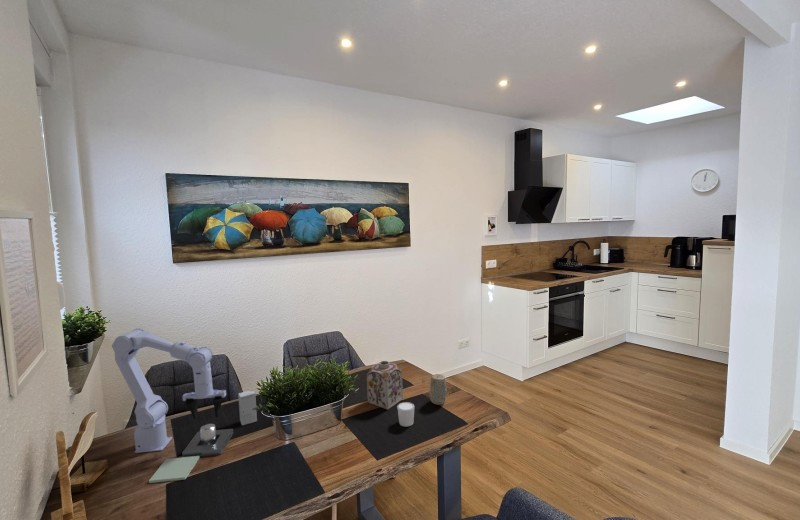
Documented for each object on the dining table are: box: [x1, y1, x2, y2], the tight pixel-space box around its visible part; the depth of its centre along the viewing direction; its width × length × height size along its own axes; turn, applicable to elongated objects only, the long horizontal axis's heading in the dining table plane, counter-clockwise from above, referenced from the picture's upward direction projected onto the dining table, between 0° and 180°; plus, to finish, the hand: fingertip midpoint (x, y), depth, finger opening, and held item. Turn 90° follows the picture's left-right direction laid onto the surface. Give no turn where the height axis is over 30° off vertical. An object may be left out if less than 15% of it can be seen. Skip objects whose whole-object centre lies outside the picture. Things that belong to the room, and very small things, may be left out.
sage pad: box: [148, 456, 201, 484], centre depth 126 cm, size 11×11×1 cm
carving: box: [429, 373, 447, 406], centre depth 165 cm, size 6×8×12 cm
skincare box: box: [237, 389, 258, 426], centre depth 155 cm, size 6×4×12 cm
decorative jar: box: [366, 360, 404, 410], centre depth 168 cm, size 12×12×18 cm
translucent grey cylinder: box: [199, 423, 217, 445], centre depth 139 cm, size 5×5×7 cm
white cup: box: [396, 401, 415, 427], centre depth 150 cm, size 7×7×7 cm
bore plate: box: [181, 428, 234, 457], centre depth 140 cm, size 13×13×2 cm
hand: (206, 416), depth 140 cm, fingers open, 7 cm apart
